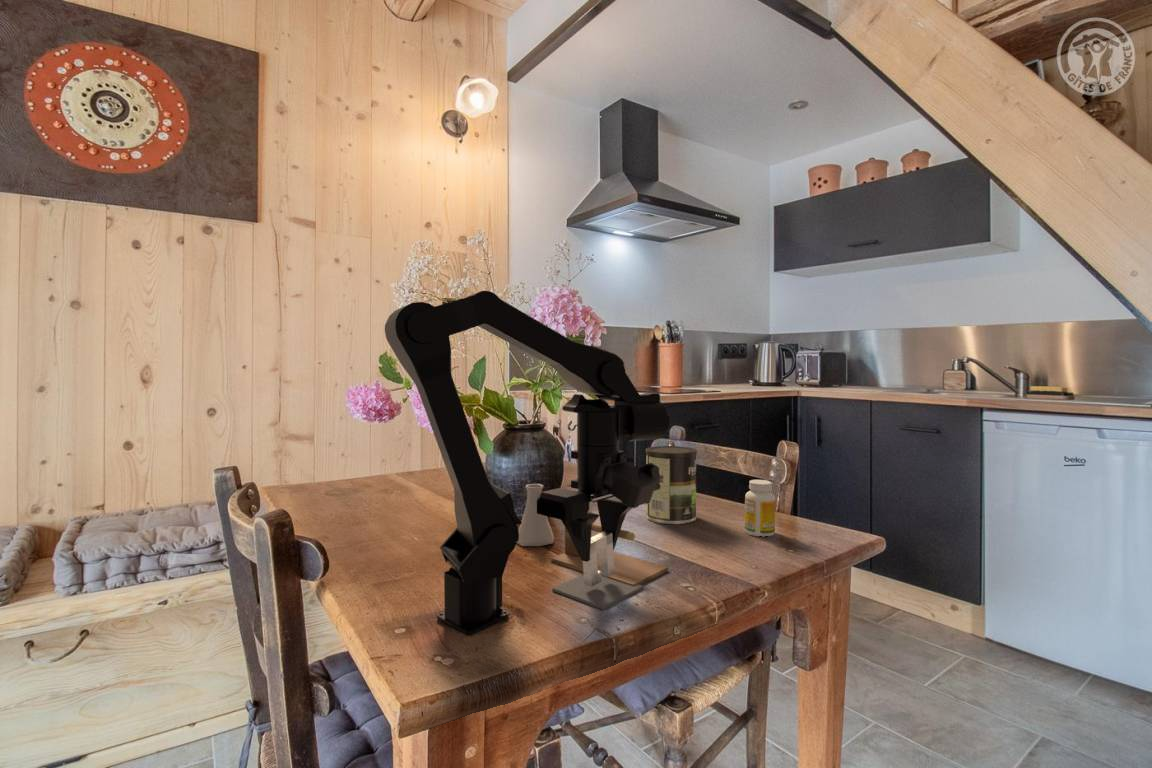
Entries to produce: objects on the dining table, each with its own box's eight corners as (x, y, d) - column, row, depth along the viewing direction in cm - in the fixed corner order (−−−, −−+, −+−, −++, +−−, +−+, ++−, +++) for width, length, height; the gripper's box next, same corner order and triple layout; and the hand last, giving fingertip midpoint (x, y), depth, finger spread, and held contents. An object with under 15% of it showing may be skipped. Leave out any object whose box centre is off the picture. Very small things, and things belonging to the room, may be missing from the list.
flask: (517, 549, 94) (517, 491, 94) (511, 537, 101) (510, 482, 101) (559, 546, 96) (559, 488, 96) (549, 533, 103) (549, 480, 103)
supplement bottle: (742, 535, 102) (742, 483, 101) (747, 527, 107) (747, 477, 106) (773, 539, 99) (773, 485, 99) (776, 531, 104) (777, 480, 104)
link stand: (633, 588, 77) (633, 540, 77) (551, 561, 88) (551, 519, 88) (668, 570, 84) (668, 526, 84) (588, 547, 95) (588, 508, 95)
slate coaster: (602, 609, 71) (602, 606, 71) (552, 590, 77) (552, 588, 77) (643, 588, 78) (643, 585, 78) (593, 572, 84) (593, 569, 84)
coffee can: (698, 512, 117) (698, 446, 116) (694, 526, 107) (694, 454, 107) (649, 509, 120) (649, 444, 119) (641, 522, 110) (641, 451, 109)
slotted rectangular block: (591, 587, 75) (589, 544, 74) (584, 584, 76) (581, 542, 75) (614, 573, 79) (612, 532, 78) (606, 571, 80) (604, 530, 79)
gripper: (600, 459, 64) (600, 592, 65) (684, 442, 78) (683, 551, 79) (533, 449, 72) (533, 568, 72) (620, 435, 85) (620, 535, 86)
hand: (597, 555), depth 77 cm, fingers closed on slotted rectangular block, 5 cm apart
